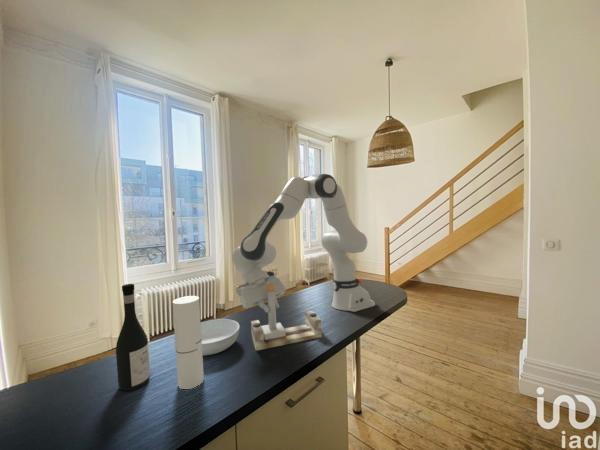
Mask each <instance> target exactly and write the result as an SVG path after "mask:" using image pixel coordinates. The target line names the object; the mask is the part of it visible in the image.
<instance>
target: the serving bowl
mask: <svg viewBox="0 0 600 450" xmlns="http://www.w3.org/2000/svg"><path fill="white" fill-rule="evenodd" d="M239 334H240V324H239V322H238V321H236V320H233V319H230V318H229V319H227V318H215V319H210V320H209V319H208V320H205V321H201V338H202V355H203V356H210V355H215V354H218V353H221V352H223V351H225V350H227V349H228V348H230V347H231V346H232V345H233V344H234V343H235V342H236V341H237V339H238V337H239Z"/></svg>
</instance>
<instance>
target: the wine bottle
mask: <svg viewBox="0 0 600 450" xmlns="http://www.w3.org/2000/svg"><path fill="white" fill-rule="evenodd" d="M121 291H122V298H123V299H122V300H123V307H124V308H123V309H124V317H123V318H124V319H123V322H122V323H123V324H122V327H121V329H120V332H119V335H118V337H117V341H116V347H115V355H116V356H115V357H116V372H117V383H118V387H119V389H120V390H121V391H127V390H128V391H133V390H136V389H138V387H139V388H141V387H142V386H144V385H145V384H146V383H147V382H148V381H149V380H150V377H151V367H150V352H149V351H150V350H149V341H148V337H147V334H146V332H145V330H144V329H143V327H142V325H141V324H140V322H139V319H138V317H137V314H136V304H135V303H136V302H135V301H136V300H135V284H134V283H128V284H127V283H126V284H123V285H122V286H121ZM140 386H141V387H140ZM135 388H136V389H135ZM132 389H133V390H132Z"/></svg>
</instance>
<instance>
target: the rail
mask: <svg viewBox="0 0 600 450" xmlns="http://www.w3.org/2000/svg"><path fill="white" fill-rule="evenodd" d="M304 314H305V315H304V317H305V324H301V325H296V326H291V327H284V329H285V331H286V336H282V337H277V338H272V339H267V340H265V339H264V336H263V329H262V327H261V326H262V325H261V323H260V320H259V319H254V320H250V328H251V329H250V330H251V331H250V334H251V340H252V344H253V346H254V349H255V352H256V351H261V350H262V351H263V350H266V349H271V348H276V347H281V346H286V345H289V344H295V343H299V342H305V341H309V340H312V339H313V340H314V339H318V338H322V337H323V335H322V330H323V329H322V319H321V318H320V317H319V316H318V315H317V313H315V312H314V311H313V310H308V311H305V312H304Z"/></svg>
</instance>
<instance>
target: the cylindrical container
mask: <svg viewBox="0 0 600 450" xmlns="http://www.w3.org/2000/svg"><path fill="white" fill-rule="evenodd" d="M200 305H201V304H200V297H199V296H198V295H185V296H182V297H181V296H180V297H178V298H176V299H173V300H172V312H173V313H172V314H173V328H174V329H173V330H174V343H175V344H174V345H175V346H174V347H175V360H176V363H175V364H176V376H177V386H179V388H182V389H191V388H194V387H196V386H198V385H199V386H201V385H202V384H203V383H204V381H203V380H204V379H205V377H204V376H205V375H204V359H203V358H204V357H203V356H204V355H202V338H201V322H202V321H201V308H200ZM201 383H202V384H201ZM200 384H201V385H200ZM199 386H198V387H199ZM179 388H178V389H179ZM196 388H197V387H196ZM194 389H195V388H194ZM191 390H192V389H191Z"/></svg>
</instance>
